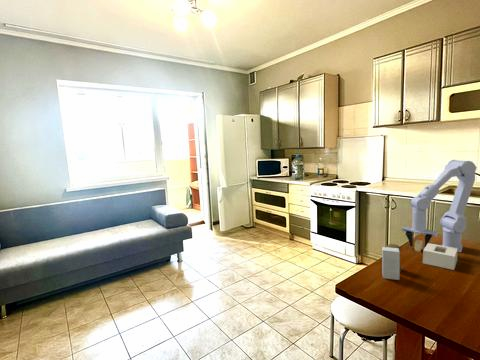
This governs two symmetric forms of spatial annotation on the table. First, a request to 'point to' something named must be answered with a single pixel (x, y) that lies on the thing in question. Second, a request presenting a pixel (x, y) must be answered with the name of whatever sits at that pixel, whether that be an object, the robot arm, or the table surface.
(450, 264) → the slot box
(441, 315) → the table surface
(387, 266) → the skincare box
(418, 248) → the wooden brick
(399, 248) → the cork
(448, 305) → the table surface
